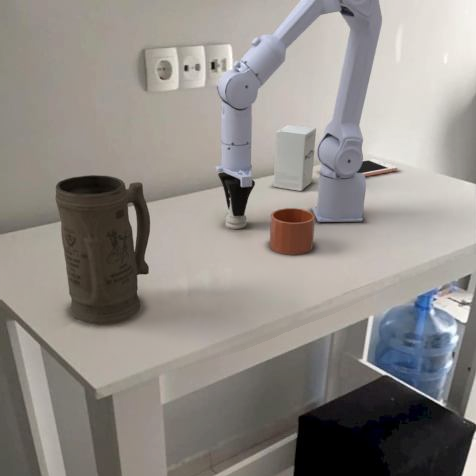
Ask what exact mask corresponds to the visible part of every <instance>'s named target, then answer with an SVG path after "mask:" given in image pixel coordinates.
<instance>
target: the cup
mask: <svg viewBox="0 0 476 476" xmlns="http://www.w3.org/2000/svg"><path fill="white" fill-rule="evenodd" d="M269 225H270V229H269V248H270V250H272V251H274V252H276V253H277V254H283V255H287V256H289V255H290V256H293V255H294V256H295V255H296V256H297V255H303V254H307V253H309V252H310V251H312V249H313V245H314V236H315V225H316V217H315V214H314V212H313V211H312V212H311V211H310V210H308V209H304V208H297V207H285V208H280V209H279V208H278V209H277V210H274V211H272V213H270V223H269Z"/></svg>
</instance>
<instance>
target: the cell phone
mask: <svg viewBox="0 0 476 476" xmlns="http://www.w3.org/2000/svg"><path fill="white" fill-rule="evenodd" d="M397 171H398V167H397V166H395V165H393V164H390V163H388V162H386V161H382V160H380V159H377V158H372V159H370V158H369V159H366V160H363V162H362V165H361V167H360V169H359V170H358V172H357V173H363V174H364V175H365V177H370V176H375V175H379V174H385V173H386V174H387V173H391V172H397Z"/></svg>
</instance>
